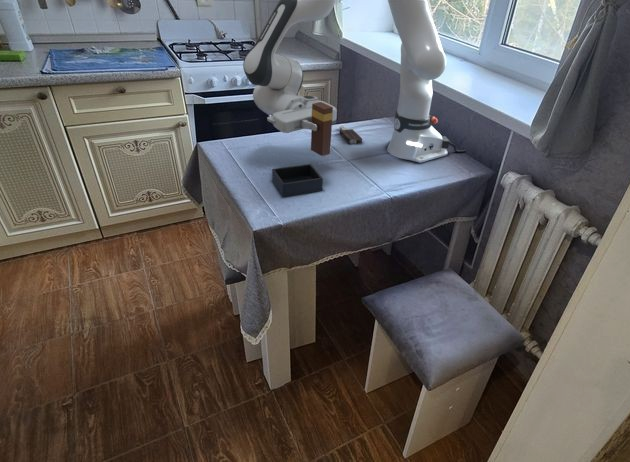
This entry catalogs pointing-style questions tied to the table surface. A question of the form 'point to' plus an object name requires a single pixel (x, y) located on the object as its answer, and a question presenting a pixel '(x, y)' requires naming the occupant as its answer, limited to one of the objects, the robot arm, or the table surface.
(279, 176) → the tray
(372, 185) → the table surface
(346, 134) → the ice cream bar
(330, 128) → the chocolate box
